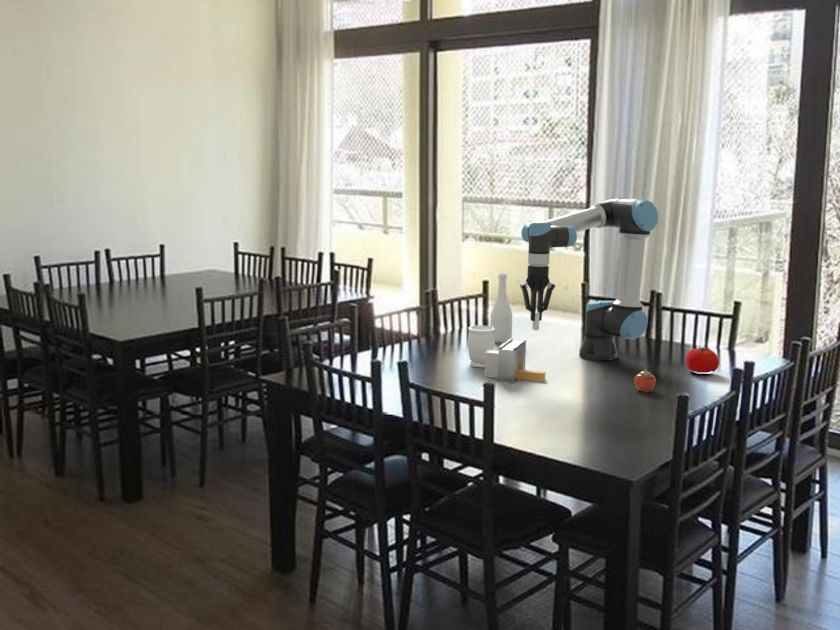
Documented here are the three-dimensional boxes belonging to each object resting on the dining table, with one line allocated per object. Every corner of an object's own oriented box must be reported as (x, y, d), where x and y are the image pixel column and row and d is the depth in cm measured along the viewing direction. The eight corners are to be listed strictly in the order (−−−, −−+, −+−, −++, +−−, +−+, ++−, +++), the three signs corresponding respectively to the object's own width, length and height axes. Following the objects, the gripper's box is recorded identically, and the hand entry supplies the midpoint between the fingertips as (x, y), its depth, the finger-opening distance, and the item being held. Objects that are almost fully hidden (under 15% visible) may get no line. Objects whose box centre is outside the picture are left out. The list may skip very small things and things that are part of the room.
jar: (492, 369, 334) (493, 331, 332) (465, 367, 336) (466, 329, 334) (495, 363, 345) (496, 325, 342) (469, 361, 347) (470, 324, 344)
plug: (545, 378, 322) (546, 355, 320) (542, 382, 317) (543, 358, 316) (483, 372, 330) (483, 349, 328) (479, 375, 326) (480, 351, 324)
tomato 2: (642, 394, 303) (643, 372, 301) (629, 389, 309) (630, 367, 308) (659, 392, 306) (661, 370, 304) (646, 387, 312) (647, 365, 311)
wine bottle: (512, 343, 379) (514, 275, 374) (490, 343, 379) (492, 274, 374) (510, 338, 389) (512, 272, 383) (489, 338, 389) (491, 271, 383)
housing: (524, 372, 330) (526, 339, 328) (513, 383, 316) (514, 348, 313) (509, 371, 332) (510, 338, 330) (497, 381, 318) (498, 346, 315)
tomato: (692, 368, 340) (694, 342, 338) (723, 374, 331) (725, 348, 329) (677, 373, 332) (679, 346, 331) (708, 379, 324) (710, 352, 322)
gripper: (551, 263, 318) (548, 327, 322) (517, 263, 315) (515, 328, 319) (559, 266, 311) (556, 331, 315) (524, 266, 308) (521, 332, 312)
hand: (535, 329), depth 317 cm, fingers closed
